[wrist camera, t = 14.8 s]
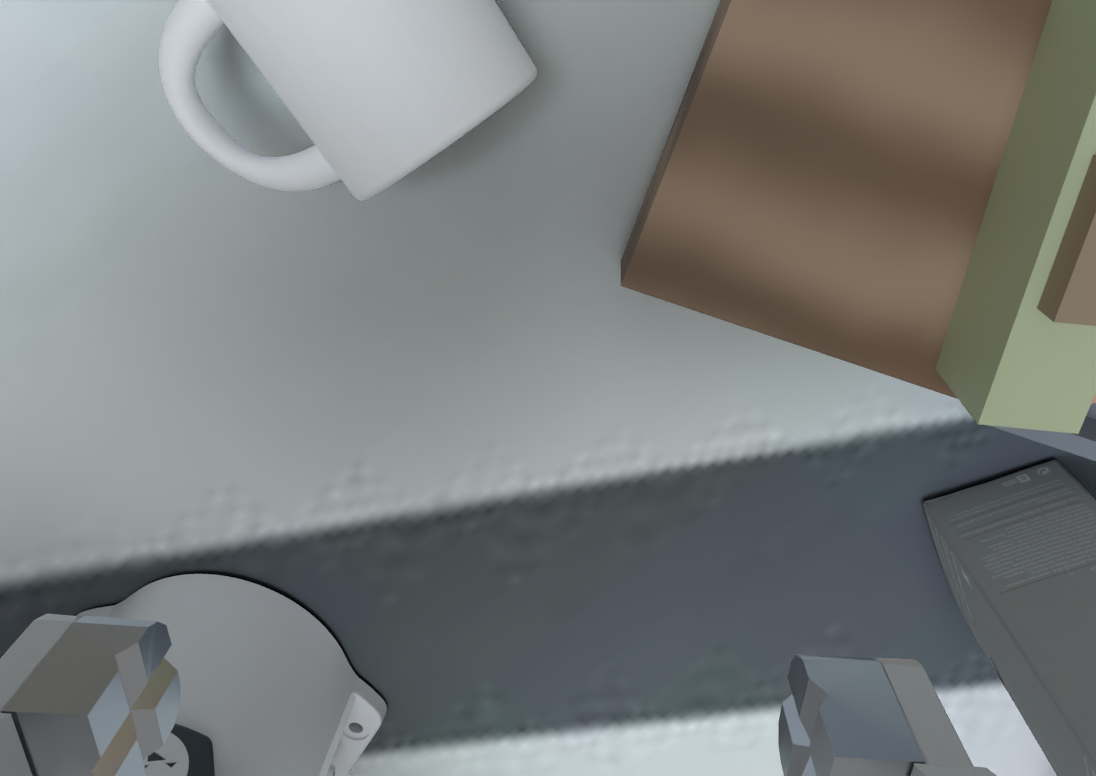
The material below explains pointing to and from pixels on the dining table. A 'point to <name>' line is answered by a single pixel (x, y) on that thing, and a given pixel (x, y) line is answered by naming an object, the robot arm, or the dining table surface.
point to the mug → (350, 82)
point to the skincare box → (1030, 598)
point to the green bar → (1036, 250)
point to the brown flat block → (836, 171)
